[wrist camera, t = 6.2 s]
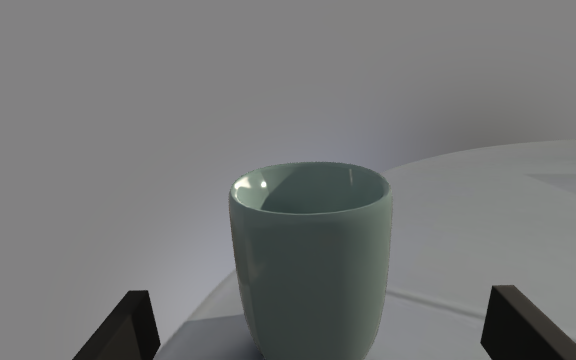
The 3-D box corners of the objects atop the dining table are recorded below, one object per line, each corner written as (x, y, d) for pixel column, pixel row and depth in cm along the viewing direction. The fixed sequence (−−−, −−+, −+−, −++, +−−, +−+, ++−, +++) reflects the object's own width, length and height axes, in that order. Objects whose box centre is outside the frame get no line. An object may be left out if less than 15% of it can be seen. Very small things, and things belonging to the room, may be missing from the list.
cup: (236, 414, 14) (207, 221, 10) (254, 298, 21) (240, 164, 18) (403, 408, 14) (425, 211, 10) (361, 293, 21) (367, 158, 18)
